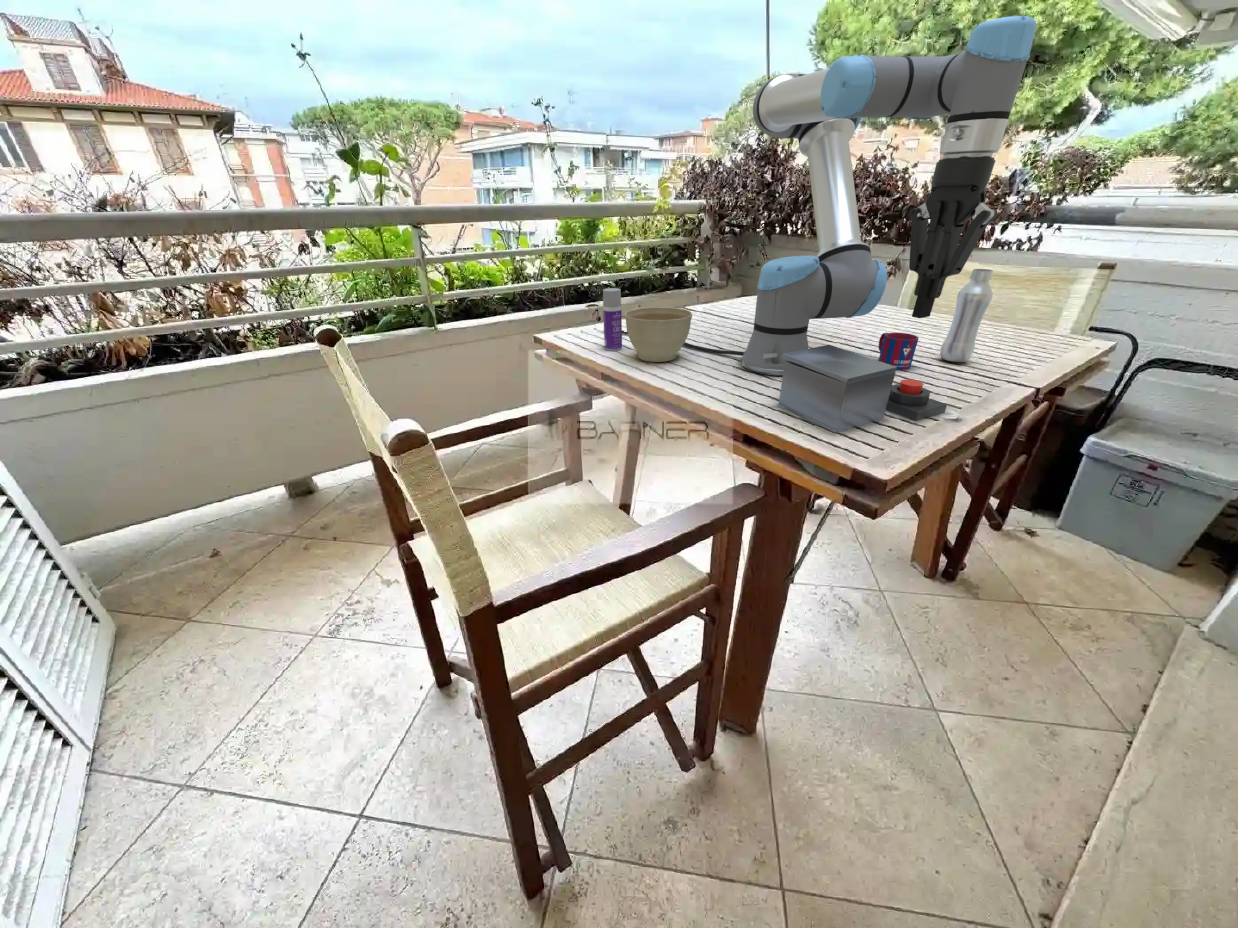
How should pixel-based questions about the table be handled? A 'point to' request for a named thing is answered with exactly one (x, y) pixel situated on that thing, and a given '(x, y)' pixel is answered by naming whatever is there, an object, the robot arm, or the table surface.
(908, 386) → the button
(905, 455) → the table surface
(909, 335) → the mug
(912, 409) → the button base
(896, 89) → the robot arm
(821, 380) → the tin
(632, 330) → the planter bowl
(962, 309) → the silver metal bottle
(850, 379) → the lid
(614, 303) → the container
